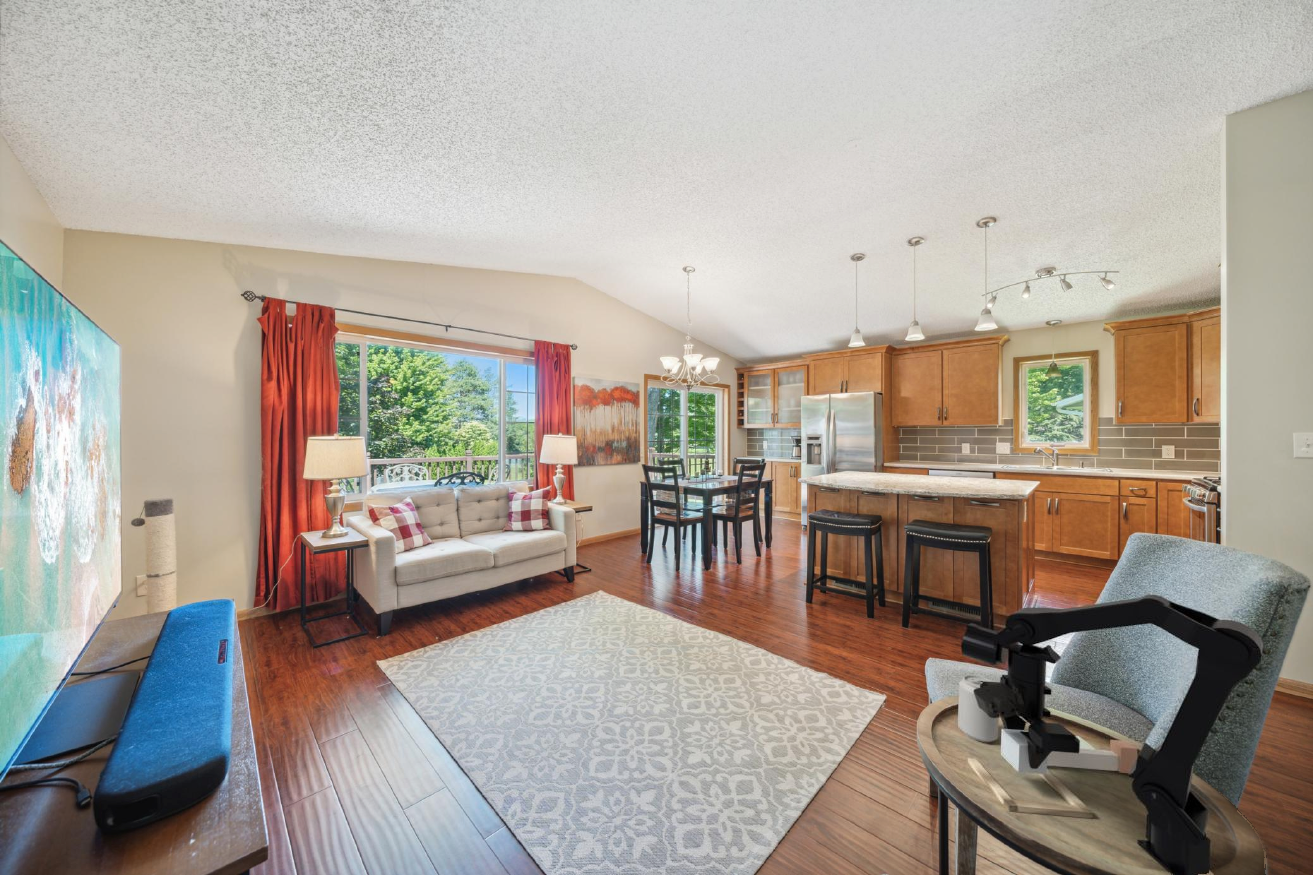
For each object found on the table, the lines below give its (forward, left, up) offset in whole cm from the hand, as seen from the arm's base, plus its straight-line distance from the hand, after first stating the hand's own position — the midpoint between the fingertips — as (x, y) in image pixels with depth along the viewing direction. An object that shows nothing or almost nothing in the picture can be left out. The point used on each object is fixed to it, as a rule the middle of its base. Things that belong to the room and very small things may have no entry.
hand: (1023, 758), depth 90 cm
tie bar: (+7, -15, -5) cm, 17 cm away
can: (+16, -1, -5) cm, 17 cm away
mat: (+13, -19, -5) cm, 24 cm away
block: (0, 0, -1) cm, 1 cm away
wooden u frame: (0, 0, -5) cm, 5 cm away
